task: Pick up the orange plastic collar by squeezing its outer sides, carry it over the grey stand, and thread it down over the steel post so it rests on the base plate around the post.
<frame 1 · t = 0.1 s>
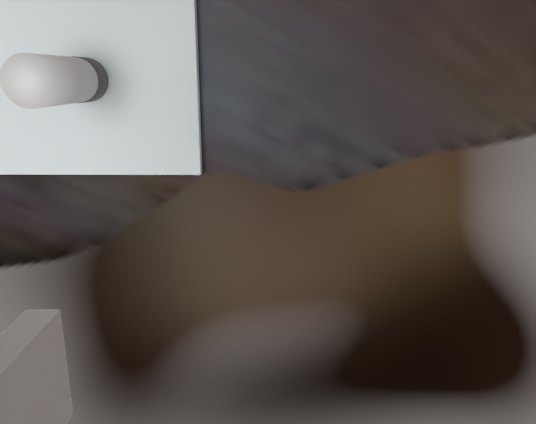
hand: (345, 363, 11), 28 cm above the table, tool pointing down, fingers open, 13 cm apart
post stand: (92, 79, 37), on the table
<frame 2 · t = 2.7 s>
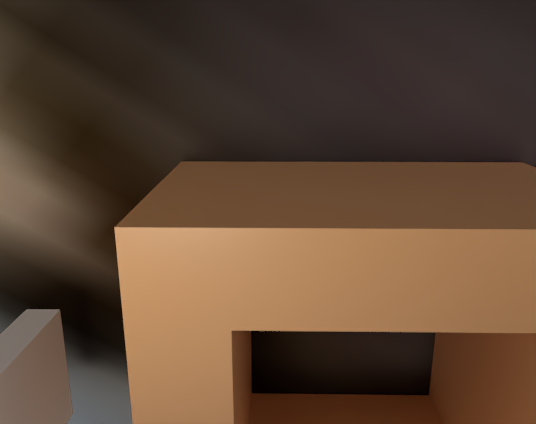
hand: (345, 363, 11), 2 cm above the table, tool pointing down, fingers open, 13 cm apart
collar: (343, 314, 13), on the table
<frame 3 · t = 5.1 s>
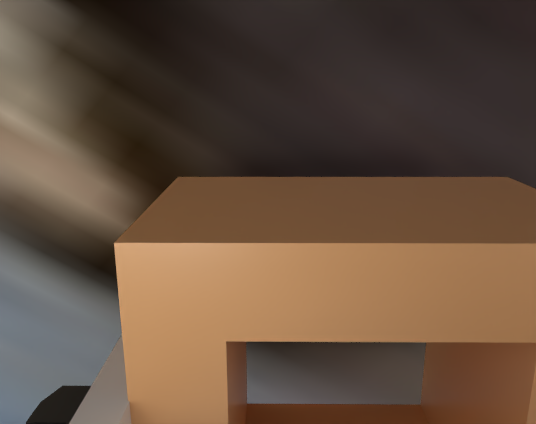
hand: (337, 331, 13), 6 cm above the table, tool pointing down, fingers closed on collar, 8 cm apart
collar: (336, 325, 13), point 5 cm above the table, touching gripper
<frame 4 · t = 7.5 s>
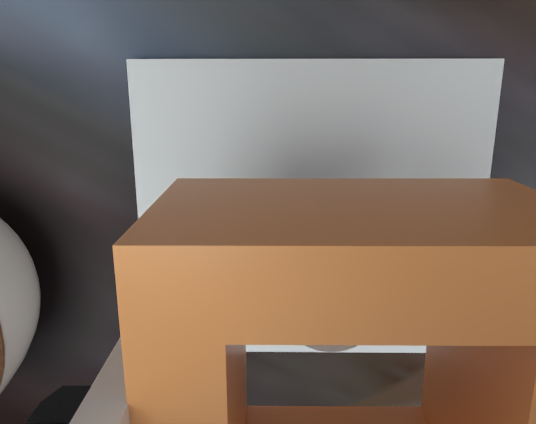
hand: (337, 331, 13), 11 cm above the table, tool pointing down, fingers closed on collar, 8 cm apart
collar: (336, 327, 13), point 11 cm above the table, touching gripper
post stand: (309, 211, 24), on the table
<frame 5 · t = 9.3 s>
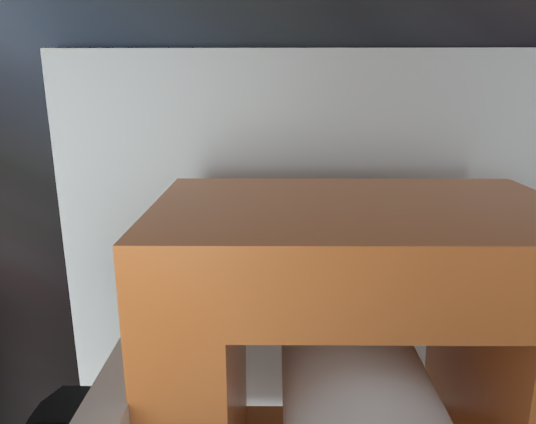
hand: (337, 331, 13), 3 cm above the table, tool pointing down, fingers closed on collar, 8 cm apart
collar: (336, 327, 13), point 3 cm above the table, touching gripper
post stand: (326, 276, 16), on the table
when the fingers open (3 cm above the table, at t = 10.3 s): collar drops 1 cm, resting on post stand.
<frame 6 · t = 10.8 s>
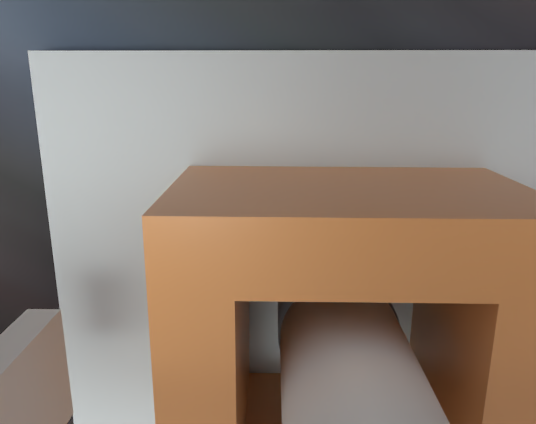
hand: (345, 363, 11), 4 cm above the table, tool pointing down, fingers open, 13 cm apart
collar: (331, 301, 14), point 1 cm above the table, touching post stand
post stand: (327, 287, 15), on the table
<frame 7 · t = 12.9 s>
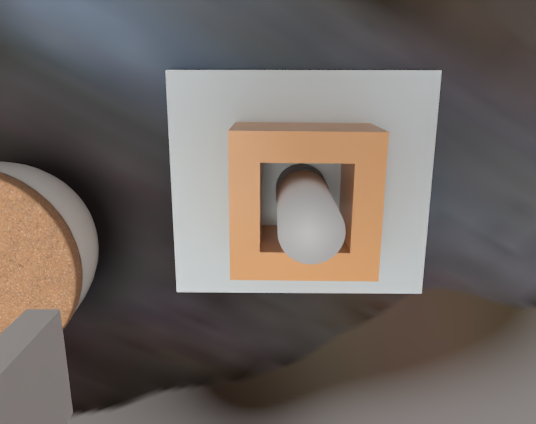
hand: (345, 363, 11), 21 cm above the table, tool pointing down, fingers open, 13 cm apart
collar: (301, 188, 30), point 1 cm above the table, touching post stand
lidded jar: (41, 227, 33), on the table
post stand: (300, 184, 31), on the table
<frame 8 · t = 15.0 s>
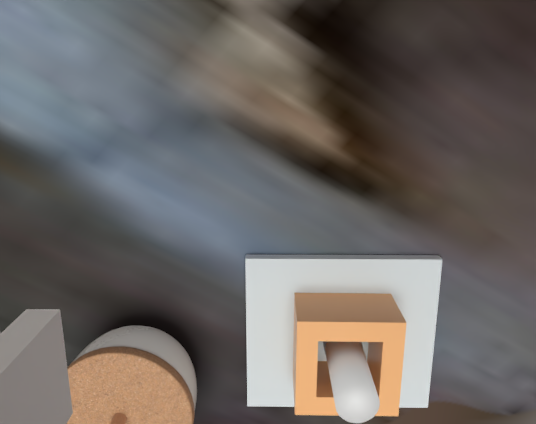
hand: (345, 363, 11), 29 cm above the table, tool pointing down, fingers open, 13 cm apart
collar: (340, 336, 42), point 1 cm above the table, touching post stand
lidded jar: (147, 358, 44), on the table
post stand: (338, 330, 43), on the table
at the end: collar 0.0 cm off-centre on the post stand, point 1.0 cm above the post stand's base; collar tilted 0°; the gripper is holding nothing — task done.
